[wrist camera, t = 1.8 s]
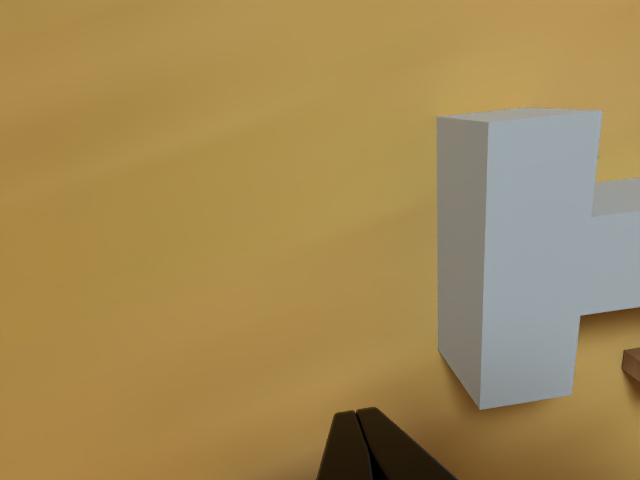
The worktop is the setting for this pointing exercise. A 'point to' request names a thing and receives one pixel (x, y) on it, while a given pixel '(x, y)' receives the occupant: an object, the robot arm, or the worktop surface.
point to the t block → (527, 248)
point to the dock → (632, 362)
